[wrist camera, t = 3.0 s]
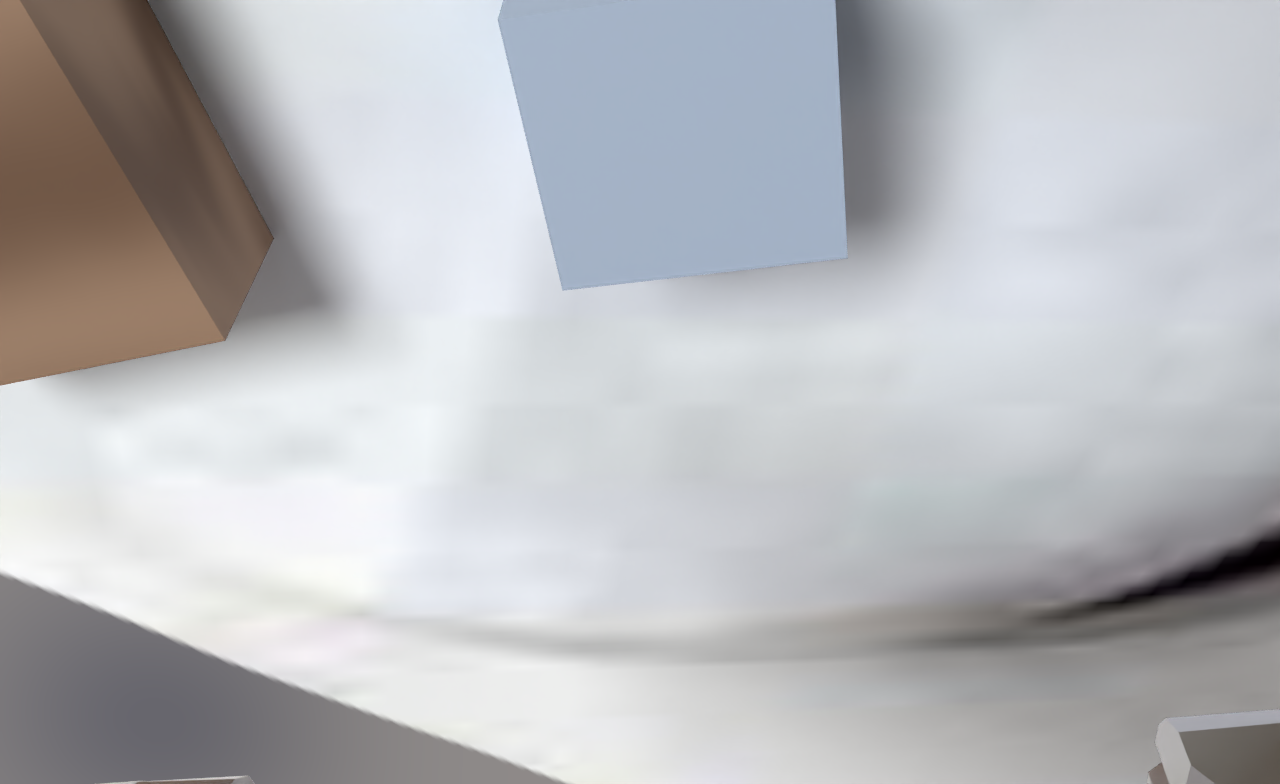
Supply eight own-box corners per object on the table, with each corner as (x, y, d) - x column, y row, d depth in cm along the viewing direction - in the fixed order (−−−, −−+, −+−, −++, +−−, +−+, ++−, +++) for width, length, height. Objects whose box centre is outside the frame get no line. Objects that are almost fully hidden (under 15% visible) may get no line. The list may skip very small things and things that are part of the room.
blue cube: (529, -91, 21) (497, 19, 18) (805, -134, 21) (834, -28, 17) (580, 152, 25) (562, 290, 21) (820, 121, 24) (847, 257, 20)
